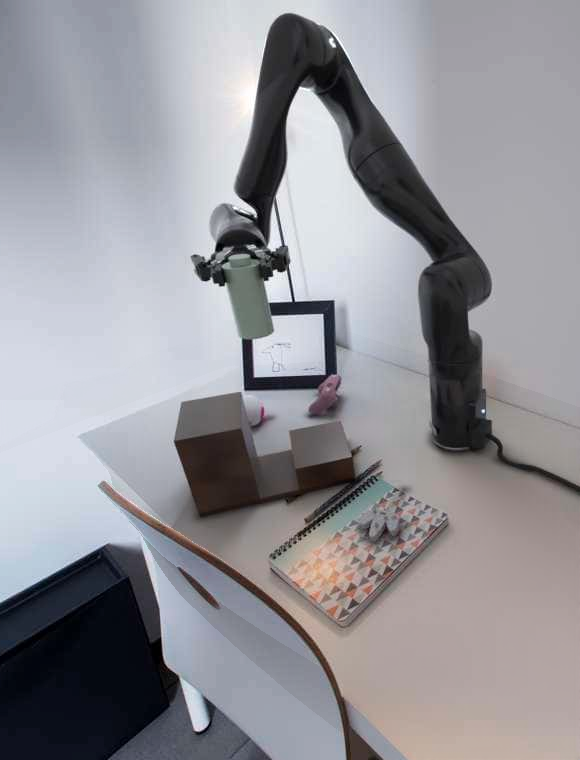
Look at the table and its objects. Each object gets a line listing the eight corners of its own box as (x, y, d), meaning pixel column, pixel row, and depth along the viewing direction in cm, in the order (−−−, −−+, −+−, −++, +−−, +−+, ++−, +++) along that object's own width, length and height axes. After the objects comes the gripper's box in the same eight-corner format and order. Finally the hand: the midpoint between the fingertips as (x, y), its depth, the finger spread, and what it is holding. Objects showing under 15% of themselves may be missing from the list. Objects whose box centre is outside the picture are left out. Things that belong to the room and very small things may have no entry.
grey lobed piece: (358, 542, 75) (355, 528, 74) (368, 491, 85) (366, 478, 84) (397, 541, 75) (396, 527, 74) (404, 490, 85) (402, 477, 84)
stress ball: (266, 443, 104) (281, 415, 102) (225, 432, 99) (240, 403, 97) (261, 423, 110) (275, 396, 108) (222, 412, 105) (236, 384, 103)
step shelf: (344, 443, 97) (333, 375, 90) (356, 481, 87) (345, 408, 80) (204, 472, 90) (181, 401, 84) (199, 517, 81) (173, 441, 74)
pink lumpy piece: (327, 422, 106) (339, 395, 103) (306, 414, 106) (316, 386, 102) (337, 398, 115) (348, 372, 112) (317, 390, 114) (327, 364, 111)
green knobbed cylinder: (281, 328, 78) (266, 253, 72) (259, 341, 74) (241, 262, 68) (254, 324, 79) (237, 250, 74) (230, 337, 75) (210, 260, 70)
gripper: (186, 228, 80) (175, 254, 66) (283, 219, 84) (293, 241, 70) (199, 277, 84) (192, 311, 70) (292, 266, 88) (303, 296, 74)
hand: (243, 276), depth 70 cm, fingers closed on green knobbed cylinder, 5 cm apart
